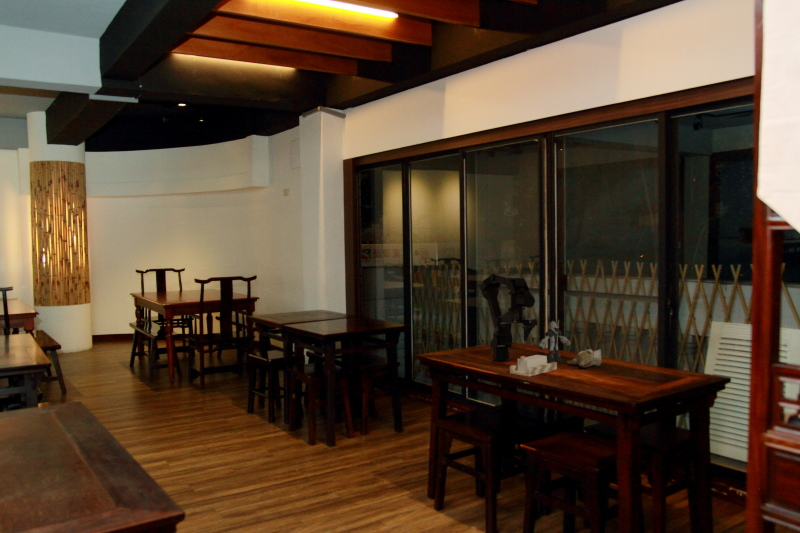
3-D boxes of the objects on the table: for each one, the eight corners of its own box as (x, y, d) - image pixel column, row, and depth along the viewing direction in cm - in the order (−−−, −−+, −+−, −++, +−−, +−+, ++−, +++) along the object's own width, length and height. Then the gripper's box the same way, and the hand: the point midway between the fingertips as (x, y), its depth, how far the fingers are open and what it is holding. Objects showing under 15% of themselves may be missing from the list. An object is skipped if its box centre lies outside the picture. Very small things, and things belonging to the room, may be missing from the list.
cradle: (529, 376, 265) (529, 369, 265) (509, 373, 272) (509, 366, 272) (556, 369, 278) (556, 362, 278) (537, 366, 286) (537, 359, 286)
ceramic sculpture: (608, 347, 280) (579, 352, 275) (609, 367, 281) (580, 372, 276) (592, 344, 290) (565, 348, 285) (594, 363, 291) (566, 367, 286)
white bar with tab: (525, 372, 268) (525, 357, 267) (516, 371, 271) (516, 356, 271) (549, 366, 279) (549, 352, 279) (540, 365, 283) (540, 350, 283)
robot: (565, 358, 302) (565, 316, 301) (573, 360, 298) (573, 317, 297) (535, 363, 291) (534, 320, 291) (542, 365, 287) (542, 321, 286)
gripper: (489, 305, 287) (489, 339, 288) (522, 308, 273) (522, 344, 274) (504, 303, 294) (504, 336, 295) (538, 306, 281) (538, 341, 281)
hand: (516, 339), depth 286 cm, fingers open, 9 cm apart
